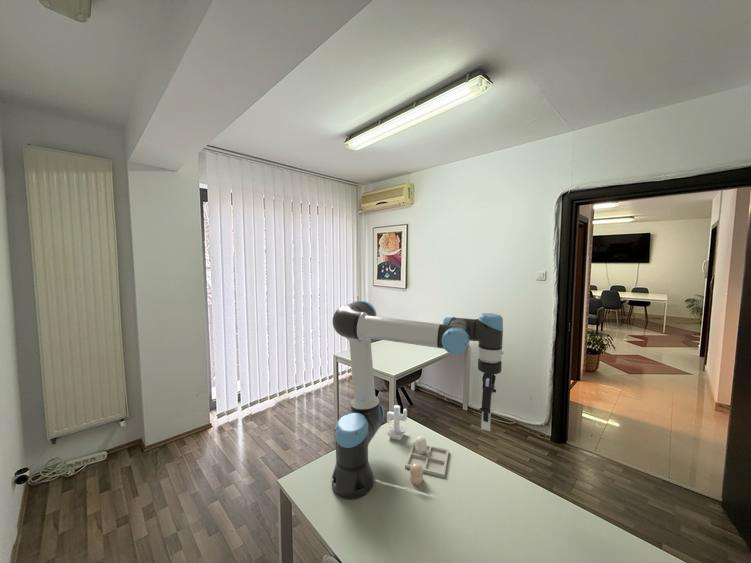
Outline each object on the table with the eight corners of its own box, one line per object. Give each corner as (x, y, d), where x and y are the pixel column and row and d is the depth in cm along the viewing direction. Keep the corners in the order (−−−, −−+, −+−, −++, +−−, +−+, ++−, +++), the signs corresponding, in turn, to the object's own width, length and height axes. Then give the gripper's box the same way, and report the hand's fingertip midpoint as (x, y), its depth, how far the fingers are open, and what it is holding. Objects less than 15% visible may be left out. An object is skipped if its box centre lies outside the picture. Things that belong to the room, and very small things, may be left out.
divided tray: (404, 469, 113) (404, 465, 113) (413, 446, 127) (413, 441, 127) (444, 479, 108) (444, 474, 108) (448, 454, 122) (448, 449, 122)
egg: (408, 485, 106) (408, 467, 105) (411, 476, 110) (411, 459, 109) (421, 488, 104) (421, 470, 103) (423, 479, 108) (424, 461, 108)
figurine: (390, 431, 138) (389, 400, 137) (409, 435, 135) (409, 404, 133) (384, 439, 132) (384, 407, 131) (404, 445, 128) (404, 412, 127)
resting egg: (414, 454, 121) (414, 439, 120) (416, 447, 125) (416, 432, 124) (425, 457, 119) (425, 441, 118) (427, 450, 123) (427, 434, 123)
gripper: (499, 374, 86) (496, 442, 88) (503, 350, 109) (501, 405, 111) (472, 370, 90) (471, 435, 92) (482, 347, 112) (480, 400, 114)
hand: (487, 419), depth 101 cm, fingers open, 13 cm apart
